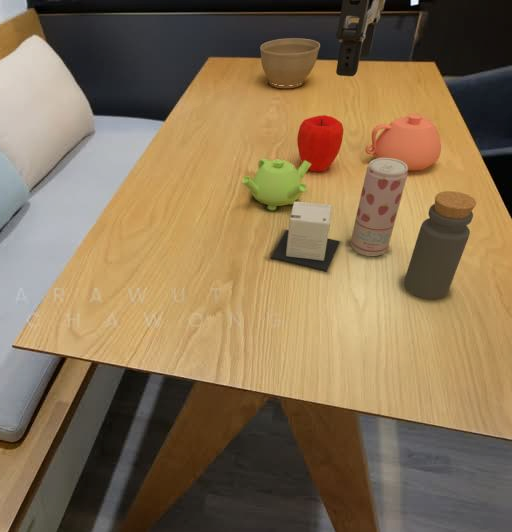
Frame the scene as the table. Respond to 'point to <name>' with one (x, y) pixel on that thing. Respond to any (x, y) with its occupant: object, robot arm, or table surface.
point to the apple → (319, 141)
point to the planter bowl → (288, 60)
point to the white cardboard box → (308, 230)
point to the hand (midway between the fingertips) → (353, 64)
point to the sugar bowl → (407, 142)
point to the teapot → (277, 182)
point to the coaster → (310, 263)
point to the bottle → (440, 245)
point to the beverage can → (378, 206)
